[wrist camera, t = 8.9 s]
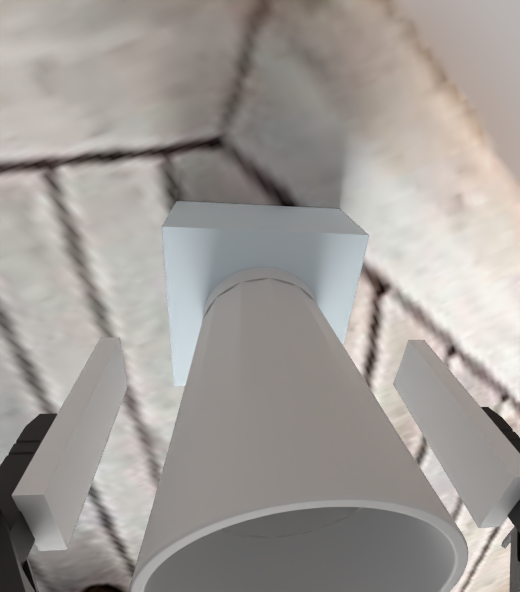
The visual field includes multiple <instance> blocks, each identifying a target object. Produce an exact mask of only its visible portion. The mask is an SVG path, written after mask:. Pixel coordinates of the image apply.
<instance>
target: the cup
mask: <svg viewBox="0 0 520 592" xmlns="http://www.w3.org/2000/svg"><path fill="white" fill-rule="evenodd" d="M467 561H468V547H467V543H466V540H465V538H464V536H463V534H462V533H461V531H460V530H459V528H458V526H457V525H456V523H455V522H454V520H453V519H452V517H451V516H450V514H449V512H448V511H447V509H446V508H445V506H444V505H443V503H442V502H441V500H440V498H439V497H438V495H437V494H436V492H435V491H434V489H433V488H432V486H431V484H430V483H429V481H428V480H427V478H426V477H425V475H424V474H423V472H422V470H421V469H420V467H419V466H418V464H417V463H416V461H415V460H414V458H413V456H412V455H411V453H410V452H409V450H408V449H407V447H406V445H405V444H404V442H403V441H402V439H401V438H400V436H399V435H398V433H397V431H396V430H395V428H394V427H393V425H392V424H391V422H390V421H389V419H388V417H387V416H386V414H385V413H384V411H383V409H382V408H381V406H380V404H379V403H378V401H377V400H376V398H375V396H374V395H373V393H372V392H371V390H370V388H369V387H368V385H367V384H366V382H365V380H364V379H363V377H362V376H361V374H360V372H359V371H358V369H357V367H356V366H355V364H354V363H353V361H352V359H351V358H350V356H349V355H348V353H347V351H346V350H345V348H344V347H343V345H342V343H341V342H340V340H339V338H338V337H337V335H336V334H335V332H334V330H333V329H332V327H331V326H330V324H329V322H328V321H327V319H326V318H325V316H324V314H323V313H322V311H321V310H320V308H319V306H318V304H317V302H316V300H315V298H314V295H313V293H312V292H311V290H310V289H309V287H308V286H307V285H306V284H305V283H304V282H303V281H302V280H301V279H299V278H298V277H297V276H295V275H293V274H291V273H289V272H287V271H284V270H281V269H277V268H271V267H255V268H249V269H245V270H242V271H239V272H236V273H234V274H232V275H230V276H228V277H227V278H225V279H224V280H223V281H221V282H220V283H219V284H218V285H217V286H216V287H215V288H214V289H213V291H212V292H211V293H210V295H209V297H208V299H207V301H206V303H205V306H204V311H203V318H202V325H201V328H200V332H199V336H198V340H197V343H196V347H195V351H194V355H193V359H192V362H191V366H190V370H189V374H188V377H187V381H186V385H185V389H184V393H183V396H182V400H181V404H180V408H179V412H178V415H177V419H176V423H175V427H174V430H173V434H172V438H171V442H170V446H169V449H168V453H167V457H166V460H165V464H164V467H163V471H162V475H161V478H160V482H159V485H158V489H157V492H156V496H155V500H154V503H153V507H152V510H151V514H150V517H149V521H148V524H147V528H146V532H145V535H144V539H143V542H142V546H141V549H140V553H139V556H138V560H137V564H136V567H135V571H134V574H133V578H132V581H131V585H130V590H129V592H449V591H451V589H452V588H453V587H454V586H455V585H456V584H457V582H458V581H459V580H460V578H461V576H462V575H463V573H464V570H465V568H466V565H467Z"/></svg>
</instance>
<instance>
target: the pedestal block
mask: <svg viewBox="0 0 520 592" xmlns="http://www.w3.org/2000/svg"><path fill="white" fill-rule="evenodd" d="M162 236H163V249H164V262H165V275H166V288H167V301H168V314H169V327H170V340H171V353H172V367H173V380H174V387H185V385H186V381H187V377H188V374H189V370H190V366H191V362H192V359H193V355H194V351H195V347H196V343H197V340H198V336H199V332H200V328H201V325H202V318H203V311H204V306H205V303H206V301H207V299H208V297H209V295H210V293H211V292H212V291H213V289H214V288H215V287H216V286H217V285H218V284H219V283H220V282H221V281H223V280H224V279H225V278H227V277H228V276H230V275H232V274H234V273H236V272H239V271H242V270H245V269H249V268H255V267H271V268H277V269H281V270H284V271H287V272H289V273H291V274H293V275H295V276H297V277H298V278H299V279H301V280H302V281H303V282H304V283H305V284H306V285H307V286H308V287H309V289H310V290H311V292H312V293H313V295H314V298H315V300H316V302H317V304H318V306H319V308H320V310H321V311H322V313H323V314H324V316H325V318H326V319H327V321H328V322H329V324H330V326H331V327H332V329H333V330H334V332H335V334H336V335H337V337H338V338H339V340H340V342H341V343H342V345H344V340H345V336H346V332H347V327H348V323H349V319H350V315H351V310H352V306H353V302H354V298H355V293H356V289H357V285H358V281H359V276H360V272H361V268H362V264H363V259H364V255H365V251H366V247H367V242H368V238H369V235H368V234H367V233H366V232H365V231H364V230H363V229H362V228H361V227H360V226H359V225H357V224H356V223H355V222H354V221H353V220H352V219H351V218H350V217H349V216H347V215H346V214H345V213H344V212H343V211H342V210H341V209H333V208H313V207H293V206H272V205H252V204H231V203H211V202H191V201H176V203H175V205H174V206H173V208H172V210H171V212H170V213H169V215H168V217H167V219H166V220H165V222H164V224H163V225H162Z"/></svg>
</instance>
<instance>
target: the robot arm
mask: <svg viewBox="0 0 520 592" xmlns="http://www.w3.org/2000/svg"><path fill="white" fill-rule="evenodd" d="M393 385H394V386H395V388H396V390H397V391H398V393H399V395H400V396H401V398H402V400H403V401H404V403H405V405H406V407H407V408H408V410H409V412H410V413H411V415H412V417H413V418H414V420H415V422H416V423H417V425H418V427H419V428H420V430H421V432H422V433H423V435H424V437H425V439H426V440H427V442H428V444H429V445H430V447H431V449H432V450H433V452H434V454H435V455H436V457H437V459H438V460H439V462H440V464H441V466H442V467H443V469H444V471H445V472H446V474H447V476H448V477H449V479H450V481H451V482H452V484H453V486H454V487H455V489H456V491H457V492H458V494H459V496H460V498H461V499H462V501H463V503H464V504H465V506H466V508H467V509H468V511H469V513H470V514H471V516H472V518H473V519H474V521H475V523H476V524H477V526H478V528H486V527H500V526H501V525H502V523H503V522H504V521H505V519H506V518H507V517H509V519H510V520H511V522H512V523H513V524H514V526H515V527H514V528H513V529H512V530H511V532H510V533H509V534H508V535H507V537H506V538H505V539H504V540H503V542H502V545H501V546H502V547H504V548H506V547H507V546H508V544H509V543H510V542H511V558H510V592H520V437H519V436H518V435H517V434H516V433H515V432H513V431H512V430H513V429H512V428H511V427H510V426H509V425H508V424H507V423H506V421H505V420H504V419H503V418H502V417H501V416H499V415H498V414H497V413H495V412H494V411H493V410H491V409H490V408H489V407H480V406H479V405H478V403H477V402H476V401H475V400H474V399H473V397H472V396H471V395H470V394H469V393H468V391H467V390H466V389H465V388H464V387H463V386H462V384H461V383H460V382H459V381H458V380H457V378H456V377H455V376H454V375H453V374H452V372H451V371H450V370H449V369H448V368H447V366H446V365H445V364H444V363H443V362H442V361H441V359H440V358H439V357H438V356H437V355H436V353H435V352H434V351H433V350H432V349H431V347H430V346H429V345H428V344H427V343H426V342H425V340H409V341H408V344H407V346H406V349H405V352H404V355H403V358H402V361H401V364H400V366H399V369H398V372H397V375H396V378H395V381H394V384H393ZM127 386H128V385H127V379H126V373H125V367H124V361H123V355H122V349H121V343H120V338H100V340H99V342H98V344H97V345H96V347H95V349H94V351H93V352H92V354H91V356H90V358H89V359H88V361H87V363H86V365H85V367H84V368H83V370H82V372H81V374H80V375H79V377H78V379H77V381H76V382H75V384H74V386H73V388H72V390H71V391H70V393H69V395H68V397H67V398H66V400H65V402H64V404H63V405H62V407H61V409H60V411H59V413H58V414H39V415H38V416H37V417H36V418H35V419H34V420H33V421H31V422H30V423H29V424H28V425H27V426H26V427H25V428H24V430H23V431H22V433H21V435H20V436H19V438H18V439H17V442H16V444H14V445H13V447H12V449H11V450H10V452H9V455H8V456H6V458H5V459H4V461H3V463H2V464H1V466H0V592H39V591H38V588H37V585H36V582H35V578H34V575H33V572H32V569H31V566H30V563H29V560H28V558H27V557H28V554H29V552H30V550H31V548H32V546H33V543H34V542H35V544H36V546H37V548H38V550H39V551H52V550H67V549H68V546H69V543H70V541H71V538H72V535H73V533H74V530H75V527H76V524H77V522H78V519H79V516H80V514H81V511H82V508H83V505H84V503H85V500H86V497H87V495H88V492H89V489H90V487H91V484H92V481H93V478H94V476H95V473H96V470H97V468H98V465H99V462H100V459H101V457H102V454H103V451H104V449H105V446H106V443H107V441H108V438H109V435H110V432H111V430H112V427H113V424H114V422H115V419H116V416H117V413H118V411H119V408H120V405H121V403H122V400H123V397H124V395H125V392H126V389H127Z"/></svg>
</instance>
